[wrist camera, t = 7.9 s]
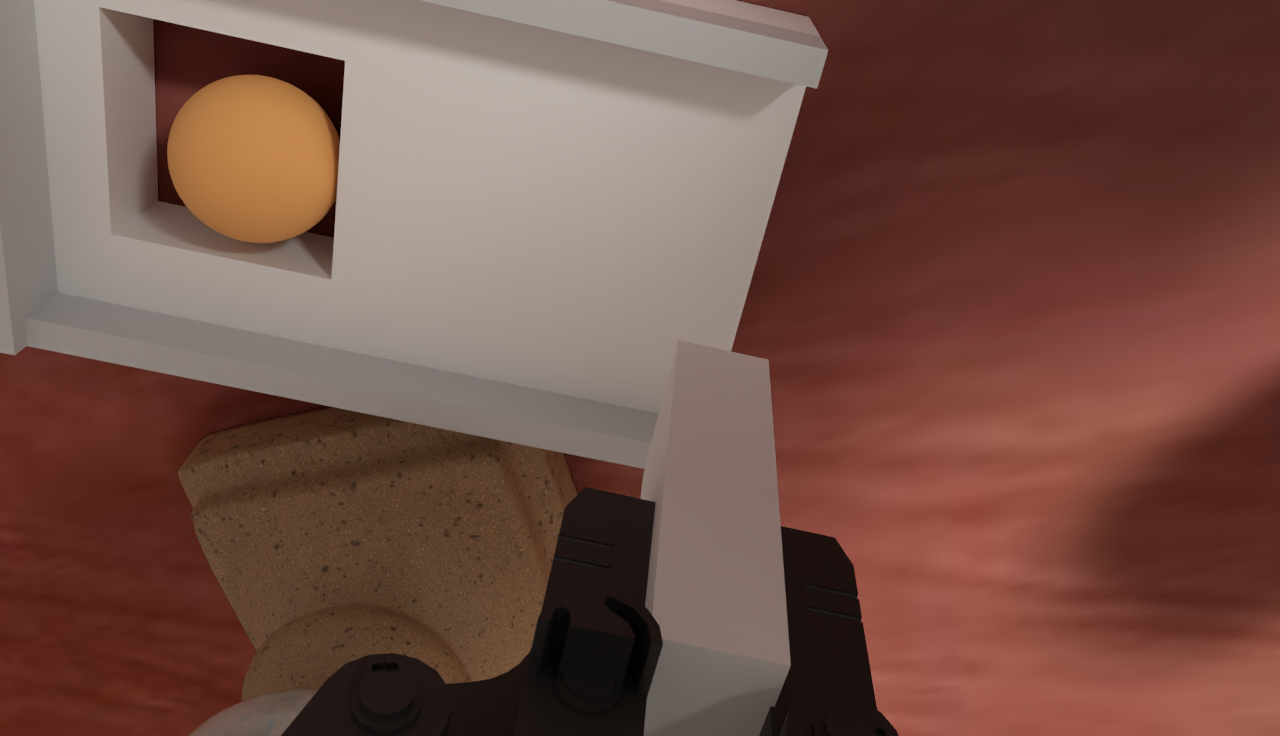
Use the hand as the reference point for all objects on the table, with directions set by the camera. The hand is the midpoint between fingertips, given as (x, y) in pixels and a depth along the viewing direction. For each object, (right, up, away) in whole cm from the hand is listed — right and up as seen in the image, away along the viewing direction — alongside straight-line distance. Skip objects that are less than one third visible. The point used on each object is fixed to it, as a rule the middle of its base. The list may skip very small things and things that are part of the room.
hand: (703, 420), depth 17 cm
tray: (-7, +6, +10) cm, 14 cm away
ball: (-10, +6, +8) cm, 14 cm away
